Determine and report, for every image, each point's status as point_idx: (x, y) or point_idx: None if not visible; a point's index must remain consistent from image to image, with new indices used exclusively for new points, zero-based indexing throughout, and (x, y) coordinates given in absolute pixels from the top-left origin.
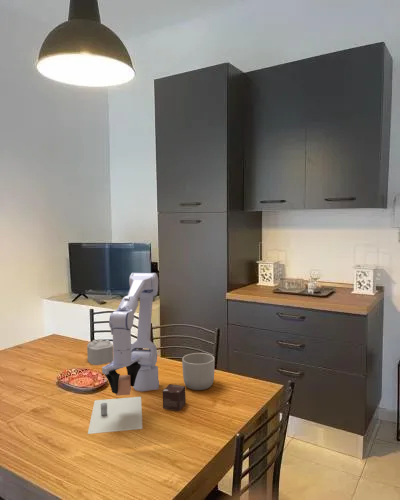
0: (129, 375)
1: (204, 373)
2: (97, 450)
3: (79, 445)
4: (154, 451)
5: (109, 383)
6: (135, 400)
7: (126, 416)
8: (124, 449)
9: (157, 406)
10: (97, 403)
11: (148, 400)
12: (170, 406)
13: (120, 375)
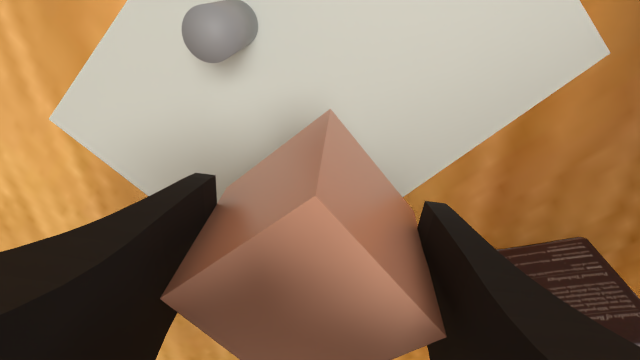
0: (419, 336)
1: None
2: (63, 217)
3: (8, 129)
4: (216, 356)
5: (117, 213)
6: (528, 61)
7: None
8: None
9: (531, 196)
10: None
11: (600, 100)
12: None
13: (349, 241)
